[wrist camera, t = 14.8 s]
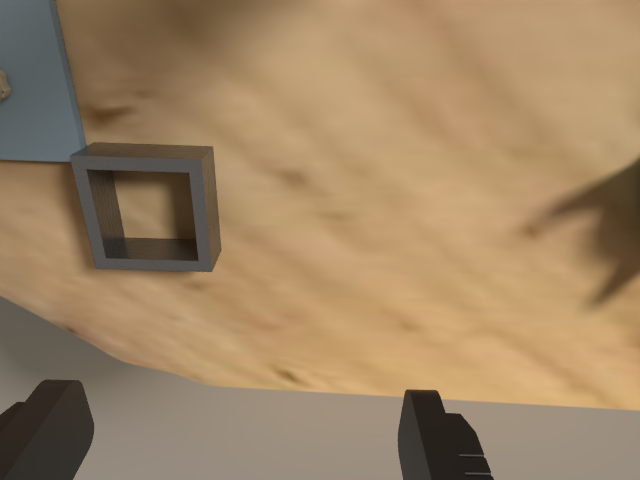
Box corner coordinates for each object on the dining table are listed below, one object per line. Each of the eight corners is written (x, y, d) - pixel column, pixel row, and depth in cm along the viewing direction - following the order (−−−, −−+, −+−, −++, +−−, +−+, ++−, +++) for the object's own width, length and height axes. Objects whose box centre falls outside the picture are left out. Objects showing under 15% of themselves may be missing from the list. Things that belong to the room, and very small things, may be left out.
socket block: (93, 142, 41) (69, 155, 37) (212, 146, 41) (201, 159, 37) (115, 247, 46) (96, 268, 42) (221, 250, 46) (211, 271, 42)
